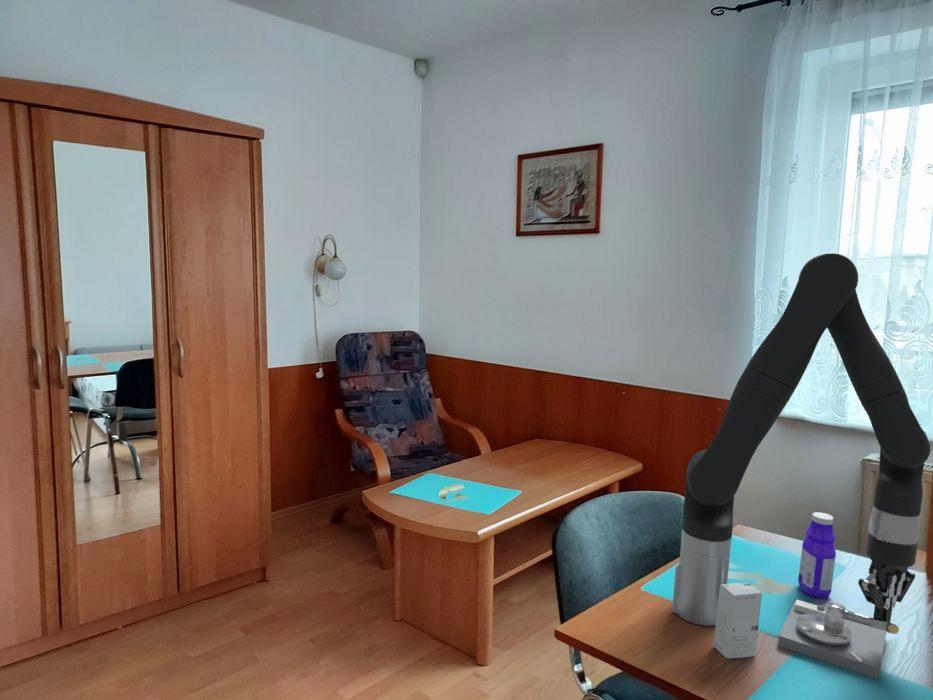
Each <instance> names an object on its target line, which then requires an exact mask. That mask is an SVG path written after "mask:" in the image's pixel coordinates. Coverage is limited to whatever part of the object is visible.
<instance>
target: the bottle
mask: <svg viewBox="0 0 933 700" xmlns="http://www.w3.org/2000/svg"><path fill="white" fill-rule="evenodd" d="M833 525H834V517H833V516H832V515H831V514H828V513H826V512H825V513H824V512H818V511H817V512H816V511H815V512H813V513H812V515H811V522H810V525H809V527H808V528H807V529H806V531H805V534H806V537H804V539H803V542H802V545H801V546H802V548H801V555H800V556H801V557H800V563H799V571H798V577H797V578H798V579H797V580H798V582H797V583H798V585H799V588H800V589H801V590H802V591H804V593H805V594H806V595H808V596H810V597H812V598H818V599H819V598H820V599H823V598H829V597H830V595H831V593H832V586H833V580H834V571H835V563H836V558H837V557H836V556H837V555H836V554H837V552H836V547H835V543H834V542H835V541H836V540H837V538H836V535H835V533H834V529H833V527H834V526H833Z"/></svg>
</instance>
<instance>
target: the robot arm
mask: <svg viewBox="0 0 933 700" xmlns="http://www.w3.org/2000/svg"><path fill="white" fill-rule="evenodd" d="M858 283H859V272H858V269H857V266H856V265H855V263H854V262H853V261H852V260H851V259H850V258H849V257H847V256H846V255H843V254H841V253H836V252H828V253H827V252H826V253H822V254H818V255H815V256H814V257H812V258H811V259H809V260H808V261H807V262H806V263H805V264H804V265H803V267H802V269H801V270H800V272H799V275H798V279H797V283H796V285H795V287H794V290H793V292H792V295H791V297H790V299H789V301H788V303H787V305H786V308H785V310H784V311H783V313H782V315H781V317H780V319H779V320H778V321H777V323H776V324H775V326H774V327H773V328H772V330H771V331H770V332H769V333H768V335H767V336H766V337H765V338H764V339H763V341H762V342H761V344H759V346H758V348H757V349H756V350H755V352H754V354H753V355H752V356H751V358H750V360H749V361H748V363H747V364H746V367H744V370H743V372H742V374H741V375H740V377H739V379H738V380H737V383H736V386H734V390H733V392H732V395H730V399H729V402H728V405H727V408H726V410H725V413H724V415H723V420H722V423H721V424H720V427H719V429H718V431H717V433H716V435H715V436H714V438H713V439H712V441H711V442H710V443H709V445H708V447H707V449H703V450H700V451H698V452H696V453H695V454H694V455H692V457H691V458H690V460H689V462H688V464H687V467H686V476H685V489H684V502H683V513H682V528H681V538H680V539H681V540H680V541H681V542H680V551H679V553H680V554H679V563H678V564H677V565H676V567H675V572H674V583H673V584H674V585H673V596H672V604H671V605H672V606H671V607H672V608H671V612H672V613H674V614H676V615H677V616H679V617H680V618H682V619H683V620H685V621H687V622H689V623H692V624H695V625H698V626H707V627H708V626H709V627H713V626H716V620H717V610H718V600H719V591H720V585H721V584H728V577H729V568H730V558H731V547H732V538H733V528H734V501H735V495H736V493H737V491H738V489H739V488H740V485H741V482H742V480H743V478H744V476H745V474H746V471H747V469H748V467H749V465H750V462H751V460H752V458H753V456H754V454H755V452H756V451H757V448H758V447H759V446H760V444H761V443H762V441H763V440H764V438H765V437H766V436H767V435H768V434H769V431H770V430H771V429H772V427H773V426H774V424H775V423H776V421H777V419H778V418H779V416H780V414H781V413H782V412H783V410H784V409H785V407H786V406H787V404H788V402H789V401H790V399H791V397H792V396H793V394H794V392H795V391H796V389H797V387H798V386H799V383H800V381H801V380H802V379H803V376H804V374H805V373H806V370H807V368H808V366H809V364H810V362H811V360H812V357H813V355H814V353H815V350H816V348H817V346H818V343H819V341H820V340H821V337H822V336H823V334H824V332H825V331H826V330H828V333H829V334H830V336H831V338H832V340H833V342H834V344H835V346H836V349H837V352H838V354H839V356H840V358H841V360H842V364H843V366H844V368H845V371H846V374H847V376H848V378H849V380H850V382H851V385H852V387H853V389H854V391H855V393H856V396H857V398H858V400H859V402H860V404H861V406H862V408H863V409H864V411H865V413H866V414H867V416H868V418H869V421H870V424H871V426H872V429H873V431H874V434H875V437H876V440H877V442H878V445H879V467H878V477H877V481H876V485H875V490H874V496H873V504H872V505H873V506H872V510H871V513H870V517H869V523H868V531H867V537H866V538H867V540H866V547H865V553H866V555H867V556H868V558H869V559H870V561H871V563H870V566H869V568H868V574H869V575H868V576H867V577H866V578H865V579H864V578H859V579H858V581H857V583H858V585H859V588H860V590H861V592H862V594H863V596H864V598H865V600H866V602H868V603H869V604H870V603H871V604H873V605H874V610H873V617H872V618H874V619H878V620H881V621H885V622H888V623H891V619H892V613H893V608H895V607H896V605H897V603H901V602H902V601H903V599H904V597H905V596H906V595H907V593H908V591H909V589H910V587H911V585H912V584H913V582H914V580H915V579H916V573H913V572H911V571H909V568H911V567H913V566H914V565H915V564H916V559H917V552H918V544H919V539H920V538H919V537H920V532H921V531H920V529H921V510H922V509H921V508H922V502H923V496H924V495H923V494H924V493H923V492H924V491H923V489H924V488H923V484H922V482H923V481H922V479H923V474H924V466H925V463H926V461H927V460H928V459H929V457H930V455H931V444H930V441H929V437H928V435H927V434H926V432H925V430H924V429H923V428H922V426H921V424H920V422H919V420H918V419H917V417H916V415H915V413H914V412H913V410H912V407H911V405H910V402H909V398H908V396H907V393H906V391H905V388H904V386H903V384H902V382H901V380H900V378H899V376H898V373H897V372H896V369H895V368H894V365H893V363H892V362H891V360H890V358H889V357H888V355H887V353H886V352H885V350H884V348H883V346H882V345H881V343H880V342H879V340H878V338H877V337H876V335H875V334H874V332H873V331H872V328H871V326H870V324H869V323H868V320H867V319H866V316H865V314H864V312H863V309H862V307H861V304H860V301H859V297H858V292H857V287H858Z"/></svg>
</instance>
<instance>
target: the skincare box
mask: <svg viewBox="0 0 933 700" xmlns="http://www.w3.org/2000/svg"><path fill="white" fill-rule="evenodd" d="M762 596H763V593H762V592H761V590H760V591H759V589H757V588H756V587H755V586H753V585H752V584H750V583H749V582H739V583H738V582H731V583H727V584H721V585H720V591H719V600H718V610H717V620H716V625H715V632H714V641H713V642H714V643H713V647H714V648H715V649H716V650H717V651H718V652H719V653H720V654H721V655H722V656H723V657H724V658H725V659H739V658H741V659H743V658H752V657H756V655H757V654H756V653H757V645H758V644H757V643H758V636H759V635H758V633H759V627H760V626H759V623H760V614H761V605H762Z"/></svg>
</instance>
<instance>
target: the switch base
mask: <svg viewBox="0 0 933 700" xmlns="http://www.w3.org/2000/svg"><path fill="white" fill-rule="evenodd" d="M825 608H826V607H825V606H824V605H822V604H819V605H818V604H814V603H812V602H811V603H809V602H806V601H804V600H800V599H796V601H794V603H793V605H792V607H791V609H790V610H789V611H790V612H789V613H788V616H787V618H786V620H785V622H784V624H783V626H782V629H781V630H780V632H779V635H778V639H777V640H778V642H777V646H778V647H780V648H784V649H787V650H790V651H792V652H795V653H799V654H801V655H805V656H808V657H811V658H814V659H816V660H819V661H823V662H826V663H829V664H831V665H834V666H837V667H840V668H843V669H846V670H850V671H852V672H855V673H859V674H861V675H865V676H867V677H870V678H873V679H876V680H879V677H880V671H881V667H882V660H883V654H884V648H885V643H886V642H885V641H886V635H887V632H886V631H883V630H879V629H876V628H873V627H869V626H866V625H863V624H859V623H856V622H853V621H849V620H846V619H844V625H846V626H847V627H848V628H849V629H850V630H851V633H852V635H851V642H850V643H849V644H848V645H845V646H829V645H824V644H821V643H818V642H815V641H813V640H811V639H809V638H807V637H805V636H804V635H802V634H801V633H800V632H799V631H798V629H797V618H798V617H799V616H801V615H803V614H818V615H823V616H825Z"/></svg>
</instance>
